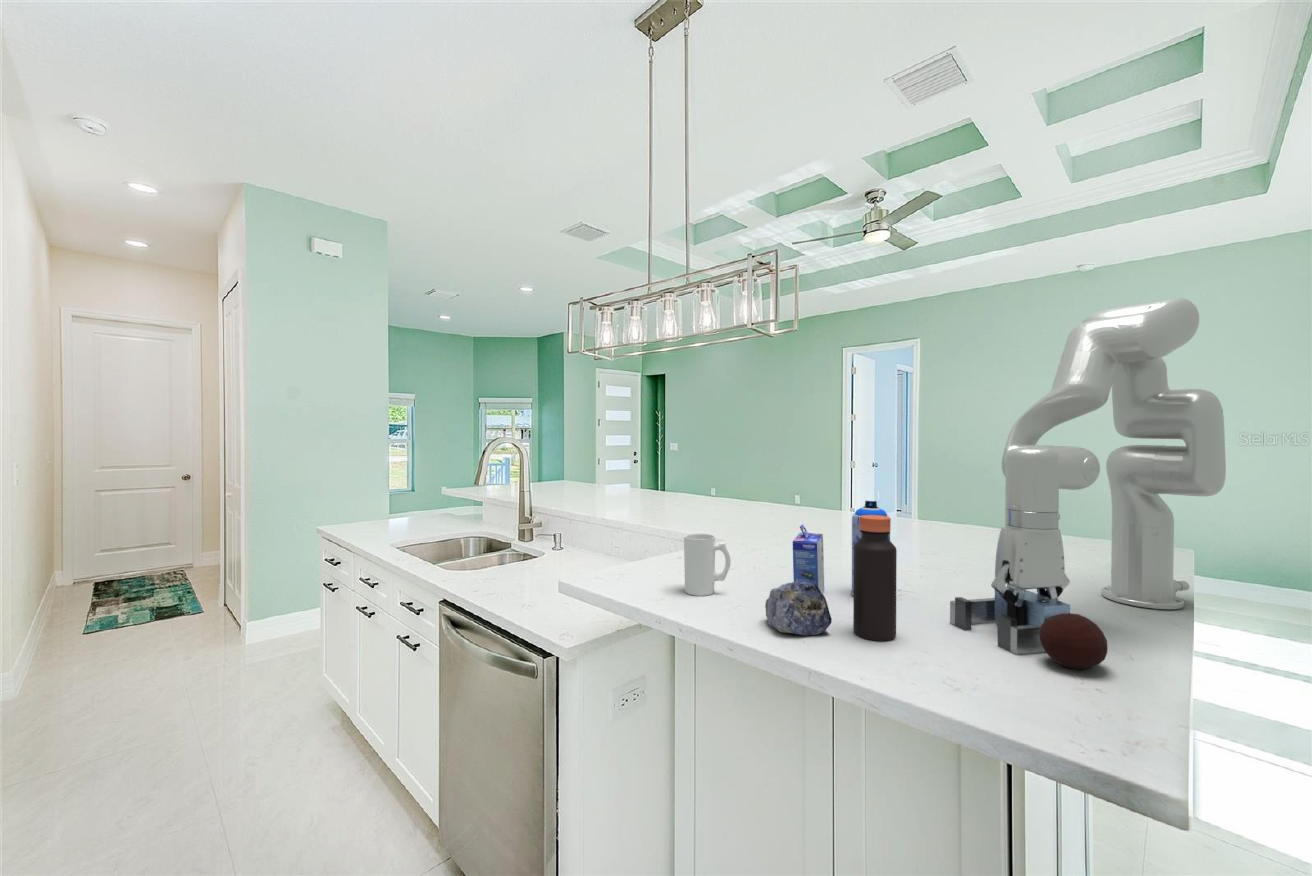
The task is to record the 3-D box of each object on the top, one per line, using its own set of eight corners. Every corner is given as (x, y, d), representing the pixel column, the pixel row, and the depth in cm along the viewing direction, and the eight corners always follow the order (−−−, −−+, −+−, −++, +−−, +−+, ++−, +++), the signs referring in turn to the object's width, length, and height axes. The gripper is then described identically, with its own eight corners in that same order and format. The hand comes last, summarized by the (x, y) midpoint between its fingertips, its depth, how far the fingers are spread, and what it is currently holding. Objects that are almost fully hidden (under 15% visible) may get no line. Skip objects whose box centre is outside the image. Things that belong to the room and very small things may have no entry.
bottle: (887, 645, 90) (887, 521, 89) (846, 634, 94) (847, 517, 94) (902, 633, 95) (902, 516, 94) (862, 624, 99) (863, 512, 99)
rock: (845, 620, 94) (814, 568, 95) (797, 655, 91) (766, 601, 92) (816, 612, 104) (789, 566, 105) (773, 643, 102) (745, 595, 102)
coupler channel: (1021, 617, 103) (1021, 590, 103) (1096, 647, 89) (1097, 616, 88) (950, 623, 100) (950, 595, 100) (1016, 654, 86) (1017, 622, 86)
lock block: (1018, 620, 100) (1018, 586, 100) (1069, 641, 90) (1070, 603, 90) (994, 622, 99) (994, 588, 99) (1044, 643, 89) (1044, 605, 89)
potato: (1023, 659, 84) (1024, 608, 84) (1069, 652, 87) (1070, 603, 87) (1077, 682, 76) (1077, 626, 76) (1126, 674, 79) (1126, 620, 79)
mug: (680, 595, 117) (680, 538, 117) (688, 586, 123) (688, 532, 123) (727, 599, 114) (727, 541, 114) (733, 590, 120) (733, 535, 120)
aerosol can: (848, 598, 114) (849, 501, 114) (852, 588, 122) (853, 497, 121) (890, 603, 111) (890, 504, 111) (891, 593, 118) (892, 499, 118)
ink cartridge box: (798, 586, 123) (799, 521, 123) (824, 589, 121) (824, 523, 121) (791, 598, 114) (791, 528, 114) (819, 602, 112) (819, 530, 112)
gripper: (1053, 515, 100) (1052, 615, 100) (971, 518, 96) (970, 622, 97) (1093, 522, 92) (1093, 630, 93) (1006, 526, 89) (1005, 638, 89)
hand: (1030, 625), depth 95 cm, fingers closed on lock block, 5 cm apart
